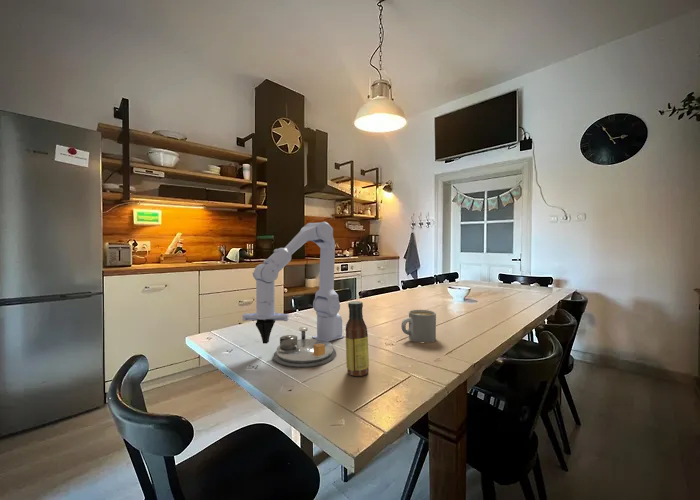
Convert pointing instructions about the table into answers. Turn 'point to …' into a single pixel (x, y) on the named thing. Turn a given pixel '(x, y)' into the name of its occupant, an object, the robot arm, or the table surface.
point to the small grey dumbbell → (303, 332)
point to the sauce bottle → (356, 341)
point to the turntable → (307, 351)
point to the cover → (288, 342)
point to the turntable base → (303, 365)
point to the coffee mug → (420, 325)
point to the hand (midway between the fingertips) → (265, 342)
